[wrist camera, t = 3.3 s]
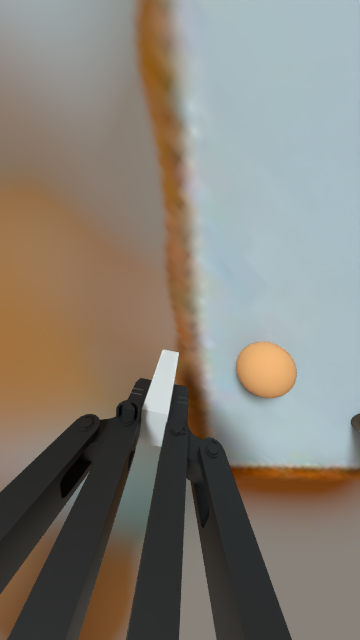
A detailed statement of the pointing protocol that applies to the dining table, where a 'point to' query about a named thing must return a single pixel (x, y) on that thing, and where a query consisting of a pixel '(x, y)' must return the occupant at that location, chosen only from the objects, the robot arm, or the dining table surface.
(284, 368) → the ball
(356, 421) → the post
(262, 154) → the dining table surface
